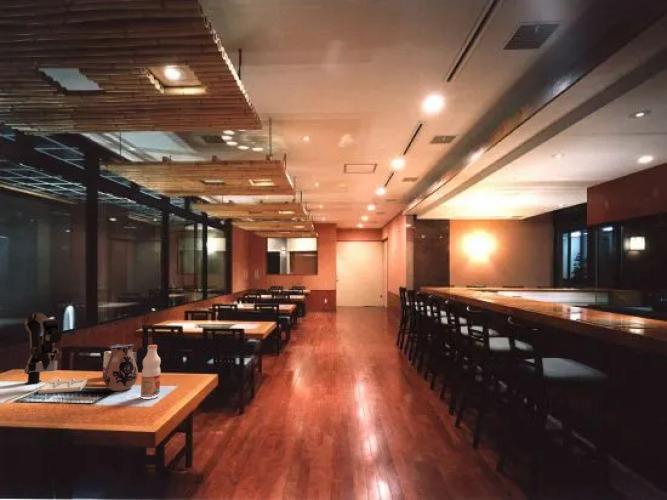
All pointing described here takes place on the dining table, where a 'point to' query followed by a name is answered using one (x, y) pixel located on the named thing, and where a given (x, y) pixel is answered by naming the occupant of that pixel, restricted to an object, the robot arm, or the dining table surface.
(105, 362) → the candy bar box
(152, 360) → the fruit juice
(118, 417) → the dining table surface
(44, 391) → the tray
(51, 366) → the grey rectangular block
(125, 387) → the ceramic pitcher
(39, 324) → the robot arm
